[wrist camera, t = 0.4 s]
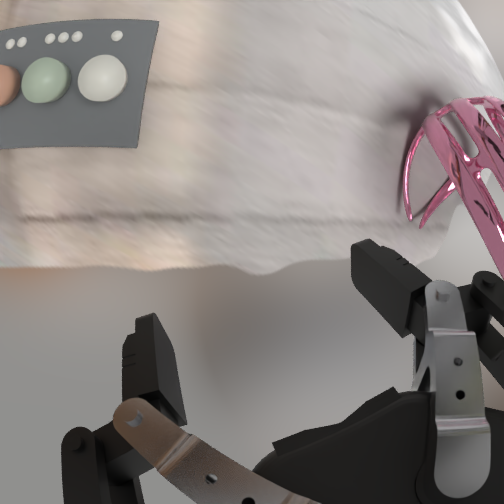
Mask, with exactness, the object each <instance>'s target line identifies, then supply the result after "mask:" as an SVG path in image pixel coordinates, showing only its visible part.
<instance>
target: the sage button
mask: <svg viewBox="0 0 504 504" xmlns="http://www.w3.org/2000/svg"><path fill="white" fill-rule="evenodd" d="M70 81H71V73H70V70H69V68H68V66H67V65H66V64H65V63H63V62H61V61H58V60H56V59H53V58H50V57H44V58H40V59H38V60H36V61H34V62H33V63H32V64H31V65H30V66H29V67H28V68H27V70H26V71H25V73H24V75H23V78H22V84H21V87H22V92H23V95H24V96H25V98H26V99H27V100H29V101H30V102H33V103H48V102H53V101H56V100H58V99H59V98H61V97H62V96H63V95H64V94H65V92H66V91H67V89H68V87H69V85H70Z"/></svg>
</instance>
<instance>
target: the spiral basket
mask: <svg viewBox="0 0 504 504" xmlns="http://www.w3.org/2000/svg"><path fill="white" fill-rule="evenodd" d="M473 105H482V106H483V107H484V108H485V111H486V113H487V115H488V116H489V118H490V120H491V122H492V124H493V125H494V127H495V129H496V131H497V132H498V134H499V136H500V138H501V140H500V138H499V137H498V135H497V134H496V133H495V131H494V130H493V129H492V127H491V126H490V125H489V123H488V122H487V121H486V120H485V118H484V117H483V116H482V115H481V114H480V112H479V111H478V110H477V109H476V108H475V107H474V106H473ZM450 112H454V113H455V114H456V116H457V117H458V118H459V120H460V121H461V123H462V124H463V126H464V127H465V129H466V130H467V132H468V133H469V135H470V136H471V138H472V139H473V141H474V142H475V144H476V145H477V147H478V150H479V153H478V155H477V156H476V157H474V158H470V157H468V156H467V155H466V154H465V152H464V151H463V149H462V148H461V146H460V145H459V143H458V142H457V141H456V139H455V138H454V136H453V135H452V134H451V132H450V131H449V130H448V129H447V127H446V126H445V125H444V124H443V122H442V121H441V118H442V117H443V116H444V115H446V114H448V113H450ZM501 115H502V116H503V117H504V101H502V100H501V99H499V98H497V97H494V96H482V97H474V98H456V99H453V100H452V101H450V102H449V103H448V104H447V105H445V106H444V107H442V108H441V109H439V110H437V111H436V112H434V113H431V114H429V115H428V116H427V117H426V118H425V119H424V120H423V122H422V125H421V127H420V129H419V130H418V132H417V134H416V135H415V137H414V139H413V141H412V143H411V145H410V148H409V151H408V153H407V157H406V161H405V165H404V172H403V199H404V205H405V210H406V214H407V217H408V219H409V221H412V212H411V207H410V201H409V175H410V168H411V164H412V160H413V157H414V154H415V151H416V149H417V147H418V145H419V143H420V141H421V139H422V138H423V136H424V135H425V134H426V136H427V138H428V140H429V142H430V144H431V146H432V147H433V149H434V151H435V153H436V154H437V156H438V158H439V160H440V161H441V163H442V165H443V167H444V168H445V170H446V172H447V174H448V175H449V177H450V179H449V180H448V181H447V182H446V183H445V184H444V185H443V186H442V187H441V189H440V190H439V191H438V192H437V194H436V195H435V196H434V198H433V199H432V201H431V202H430V204H429V205H428V207H427V209H426V211H425V213H424V215H423V217H422V219H421V222H420V225H419V229H421V228H422V227H423V226H424V225H425V223H426V221H427V220H428V218H429V217H430V216H431V214H432V213H433V212H434V211H435V209H436V208H437V207H438V206H439V205H440V204H441V203H442V202H443V201H444V200H445V199H446V198H447V197H448V196H449V195H450V194H451V193H452V192H453V191H454V190H457V191H458V193H459V195H460V197H461V199H462V201H463V202H464V204H465V206H466V208H467V210H468V212H469V214H470V215H471V217H472V219H473V221H474V223H475V225H476V227H477V229H478V231H479V233H480V235H481V237H482V239H483V240H484V243H485V245H486V247H487V249H488V251H489V253H490V255H491V256H492V258H493V260H494V263H495V264H496V266H497V268H498V270H499V272H500V274H501V276H502V278H503V280H504V221H503V219H502V217H501V215H500V213H499V211H498V209H497V207H496V205H495V203H494V201H493V199H492V197H491V195H490V193H489V192H488V190H487V188H486V186H485V184H484V183H483V181H482V179H481V176H480V172H481V170H482V169H484V168H489V169H490V170H491V171H492V172H493V173H494V175H495V177H496V179H497V181H498V182H499V184H500V186H501V188H502V190H503V191H504V120H503V118H502V116H501Z"/></svg>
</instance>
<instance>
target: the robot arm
mask: <svg viewBox="0 0 504 504" xmlns="http://www.w3.org/2000/svg"><path fill="white" fill-rule="evenodd" d="M351 277H352V281H353V284H354V286H355V287H356V289H357V290H358V291H359V292H360V293H361V294H362V295H363V296H364V297H365V298H366V299H367V300H368V302H369V303H370V304H371V305H372V306H373V307H374V308H375V309H376V310H377V311H378V312H379V313H380V314H381V315H382V317H383V318H384V319H385V320H386V321H387V322H388V323H389V324H390V325H391V326H392V328H393V329H394V330H395V331H396V332H397V333H398V334H399V335H400V336H401V337H402V338H404V337H405V336H407V335H409V334H411V333H412V334H413V335H414V336H415V337H414V342H413V345H414V346H413V347H414V348H413V349H414V350H413V382H412V387H411V391H407V392H402V393H398V392H397V391H396V389H395V388H394V387H392V388H390V389H388V390H386V391H384V392H383V393H381V394H379V395H377V396H375V397H374V398H372V399H370V400H368V401H366V402H365V403H364V404H363V405H362V406H361V407H359V408H358V409H357V410H356V411H355V412H353V413H352V414H351V415H350V416H349V417H347V418H346V419H345V420H344V421H342V422H341V423H338V424H334V425H330V426H324V427H319V428H314V429H309V430H304V431H302V432H299V433H297V434H294V435H291V436H289V437H286V438H283V439H281V440H278V441H276V442H273V443H272V444H273V446H274V449H275V450H274V451H272V452H271V453H269V454H268V455H267V456H266V457H264V458H263V459H262V460H261V461H260V462H259V463H258V464H257V465H256V466H255V468H254V469H253V470H252V471H251V470H249V469H247V468H245V467H244V466H242V465H240V464H238V463H237V462H235V461H234V460H232V459H230V458H229V457H227V456H226V455H224V454H222V453H221V452H219V451H218V450H216V449H215V448H212V447H211V446H210V445H208V444H207V443H206V442H204V441H203V440H201V439H200V438H198V437H197V436H195V435H193V434H188V433H187V432H185V431H184V430H183V429H181V428H180V426H184V425H187V420H186V415H185V410H184V404H183V399H182V394H181V388H180V382H179V377H178V371H177V365H176V358H175V353H174V349H173V346H172V344H171V341H170V339H169V338H168V336H167V334H166V332H165V330H164V328H163V327H162V325H161V323H160V321H159V319H158V317H157V315H156V314H155V313H151V314H148V315H145V316H142V317H139V318H136V320H135V333H133V334H130V335H128V336H127V338H126V340H125V342H124V344H123V349H122V358H123V359H122V367H123V368H122V403H121V404H120V405H119V406H118V407H117V409H116V410H115V412H114V415H113V420H112V421H111V422H110V423H108V424H106V425H104V426H103V427H101V428H99V429H97V430H95V431H93V432H91V431H90V430H89V429H87V428H85V427H76V428H73V429H71V430H70V431H69V432H68V433H67V434H66V435H65V436H64V438H63V441H62V444H61V462H62V482H63V483H62V484H63V497H64V504H145V503H144V499H143V494H142V490H141V485H140V480H139V475H141V474H143V473H145V472H147V471H148V470H150V469H152V468H154V467H155V468H156V469H157V471H158V472H159V473H160V474H161V475H162V476H163V477H165V479H167V480H168V481H169V482H170V483H171V484H173V485H174V486H175V487H176V488H177V489H179V490H180V491H181V492H183V493H184V494H185V495H186V496H188V497H189V498H190V499H192V500H193V501H194V502H196V503H197V504H504V411H500V410H496V409H492V408H487V407H484V393H483V383H482V374H481V366H480V361H481V362H482V363H483V365H484V366H485V367H486V368H487V369H488V371H489V372H490V373H491V374H492V375H493V377H494V378H495V379H496V380H497V382H498V383H499V384H500V385H501V386H502V388H503V389H504V337H503V336H502V335H501V334H500V333H499V332H498V331H497V330H496V329H495V328H494V327H493V326H492V325H491V324H490V320H491V318H492V316H493V317H494V318H495V319H496V320H497V321H498V322H499V323H500V324H501V325H502V326H503V327H504V281H503V280H502V279H501V278H500V277H498V276H497V275H496V274H494V273H492V272H489V271H479V272H477V273H475V275H474V276H473V280H472V283H471V284H469V285H465V286H460V287H456V286H455V285H454V284H452V283H450V282H448V281H444V280H436V281H432V280H431V279H430V278H428V277H427V276H426V275H425V274H424V273H422V272H421V271H420V270H419V269H417V268H416V267H415V266H414V265H412V264H411V263H409V261H407V260H406V259H405V258H403V257H402V256H401V255H400V254H398V253H397V252H396V251H395V250H392V249H390V248H387V247H384V246H381V247H380V246H379V245H377V244H376V243H375V242H374V241H372V240H371V239H365V240H363V241H360V242H357V243H355V244H352V246H351Z"/></svg>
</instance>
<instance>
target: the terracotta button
mask: <svg viewBox="0 0 504 504" xmlns="http://www.w3.org/2000/svg"><path fill="white" fill-rule="evenodd" d="M20 82H21V81H20V74H19V72H18V70H17V69H16V68H14V67H11V66H6V65H0V107H1V106H5V105H7V104H9V103H10V102H11V101H12V100H13V99H14V98H15V97H16V95H17V93H18V91H19V88H20Z"/></svg>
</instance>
